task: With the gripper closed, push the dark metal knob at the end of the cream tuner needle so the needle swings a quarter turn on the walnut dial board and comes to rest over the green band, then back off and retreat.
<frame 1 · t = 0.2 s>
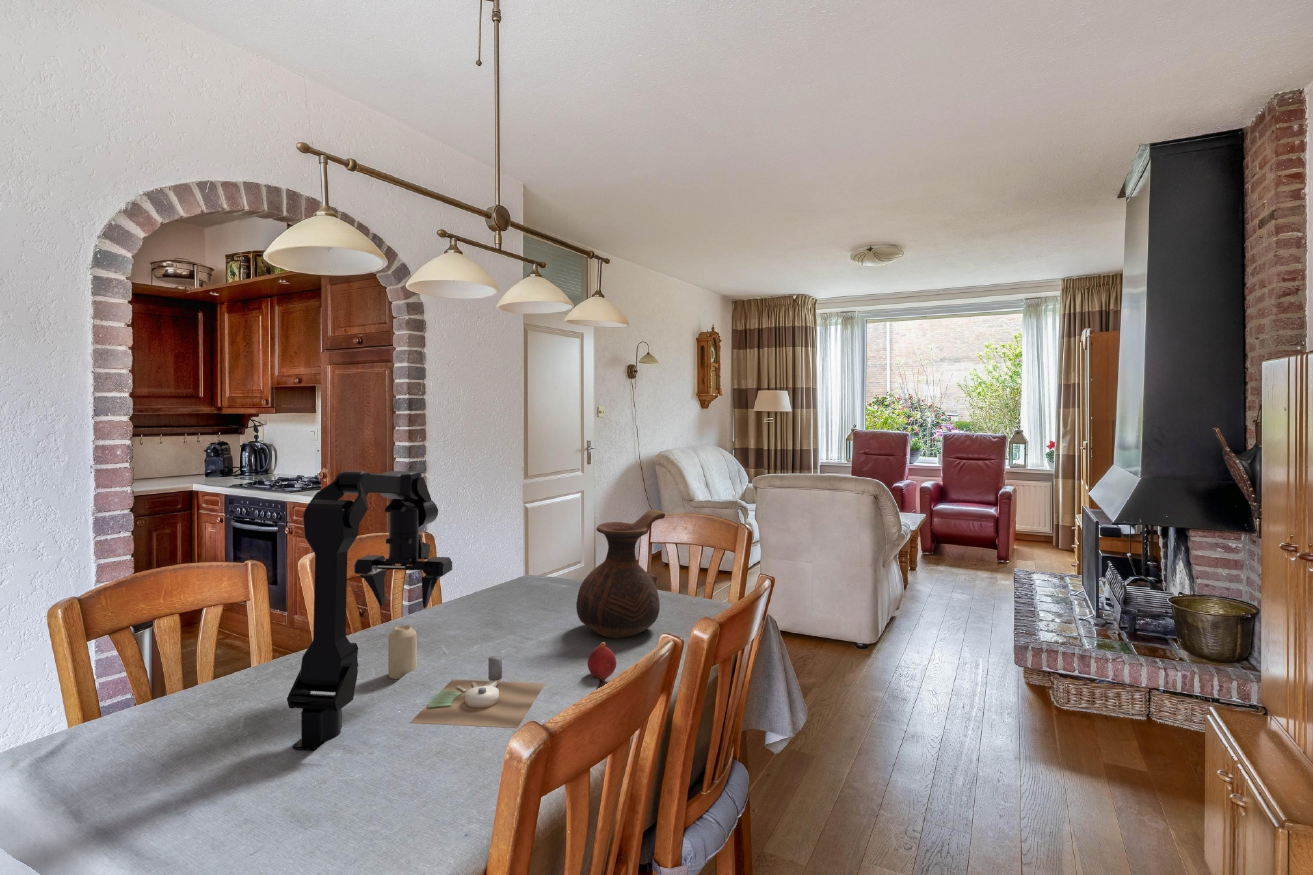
hand: (403, 606, 138), 15 cm above the table, fingers open, 9 cm apart
onion: (601, 681, 137), on the table
jug: (618, 630, 170), on the table
candle: (402, 675, 139), on the table
dial board: (482, 707, 124), on the table
needle: (487, 680, 126), point 4 cm above the table, hinge at 0.0°
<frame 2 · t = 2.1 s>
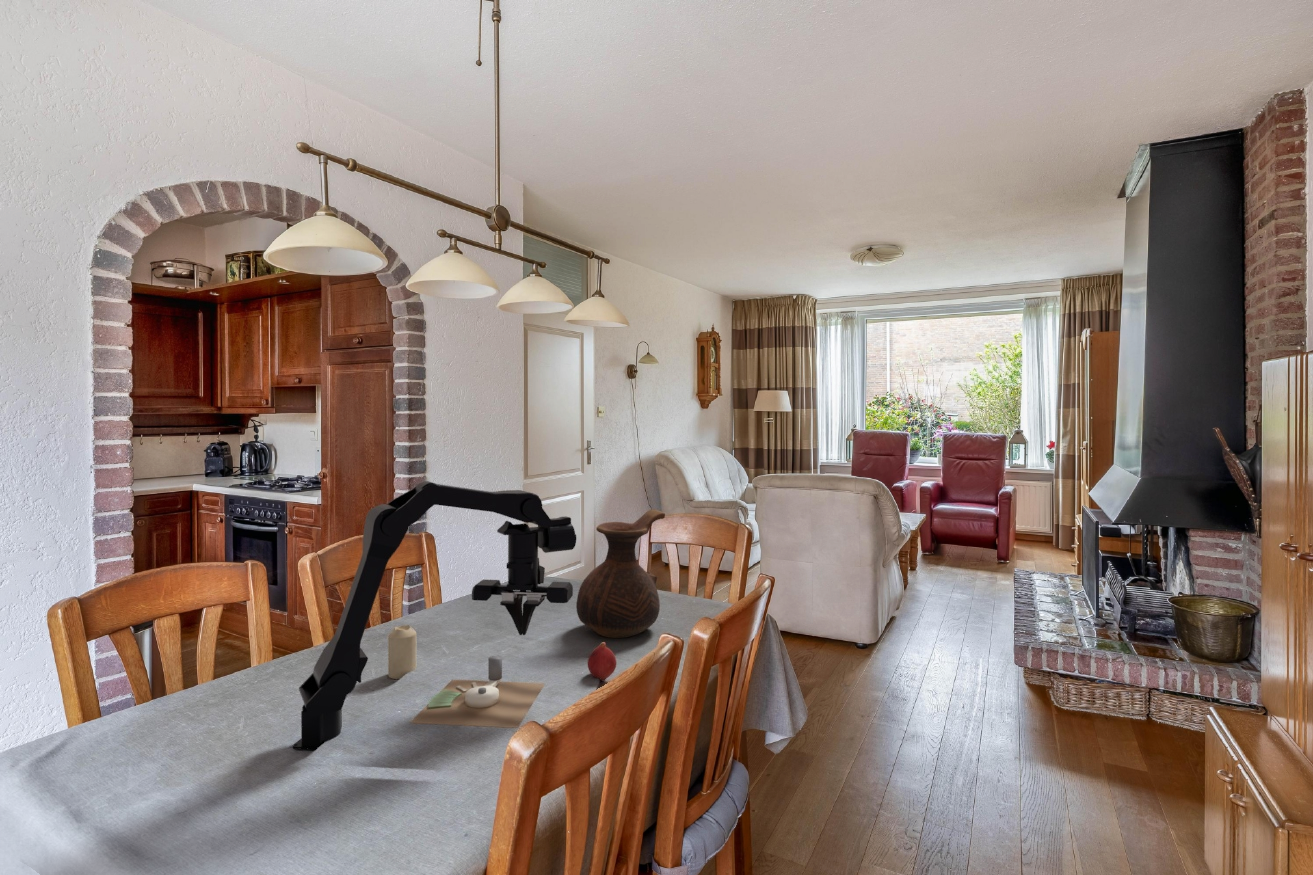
hand: (522, 634, 130), 12 cm above the table, fingers closed
nothing on the table moved.
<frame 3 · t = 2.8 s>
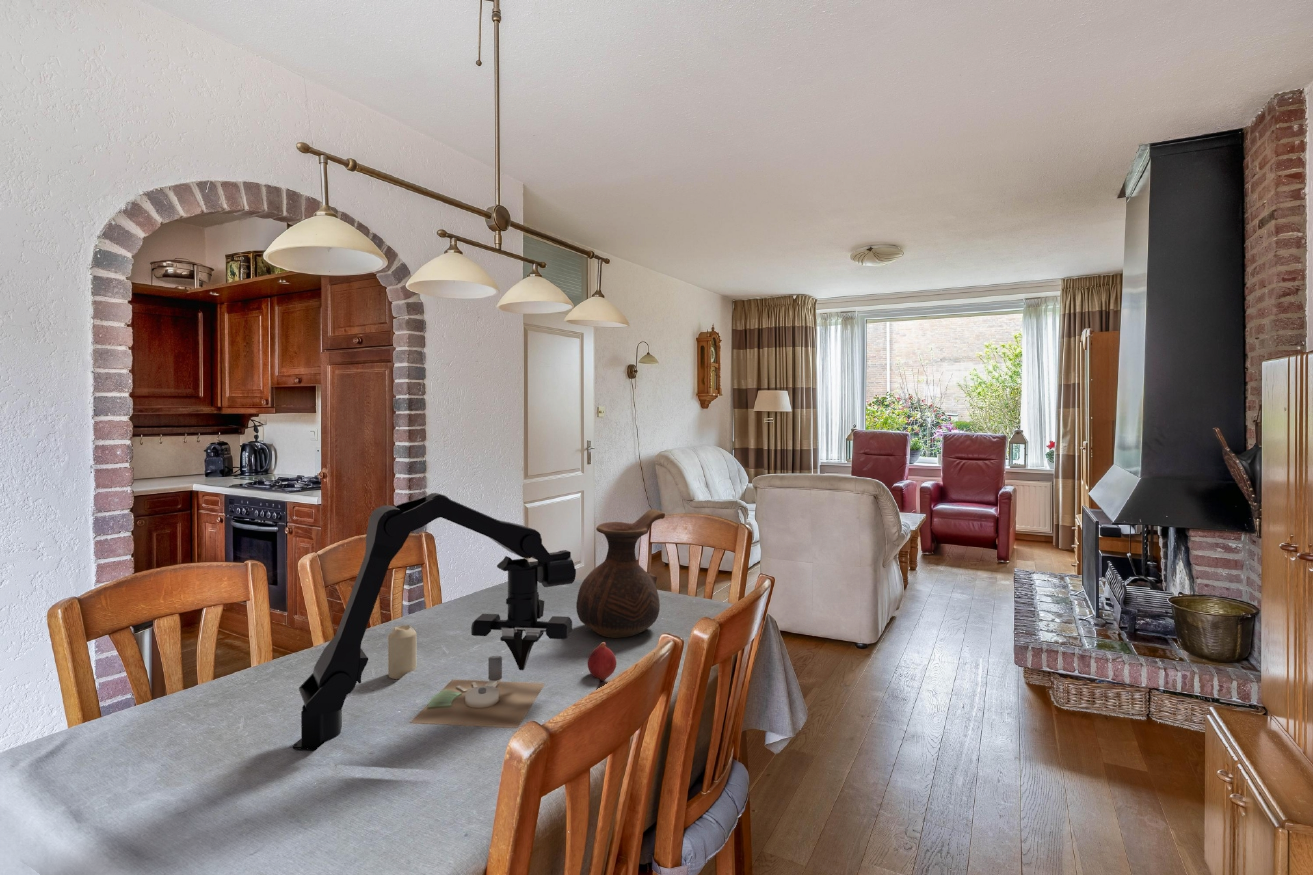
hand: (522, 669, 130), 5 cm above the table, fingers closed
nothing on the table moved.
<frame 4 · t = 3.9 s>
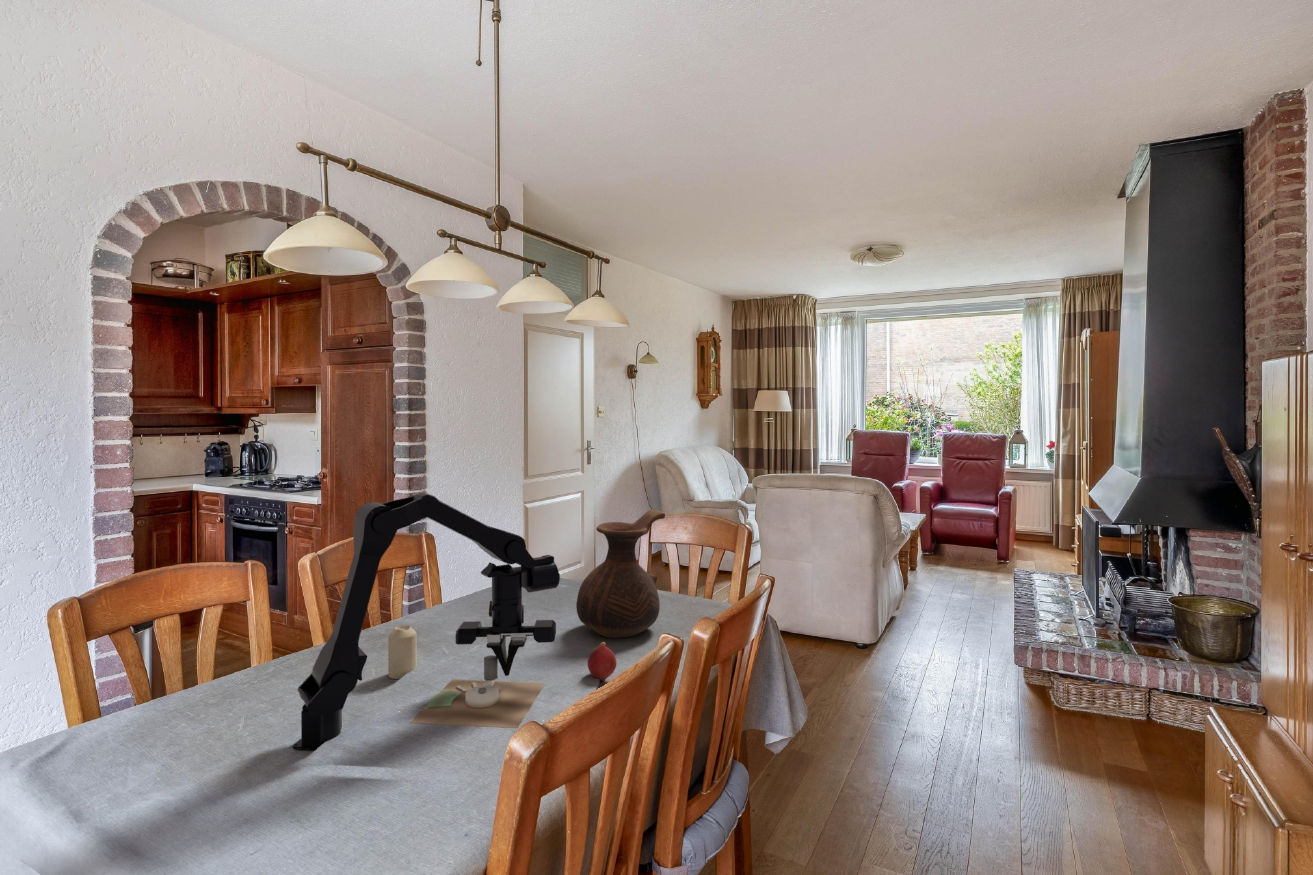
hand: (507, 674, 131), 3 cm above the table, fingers closed
needle: (485, 680, 126), point 4 cm above the table, hinge at 6.7°, touching gripper
everything else where it was.
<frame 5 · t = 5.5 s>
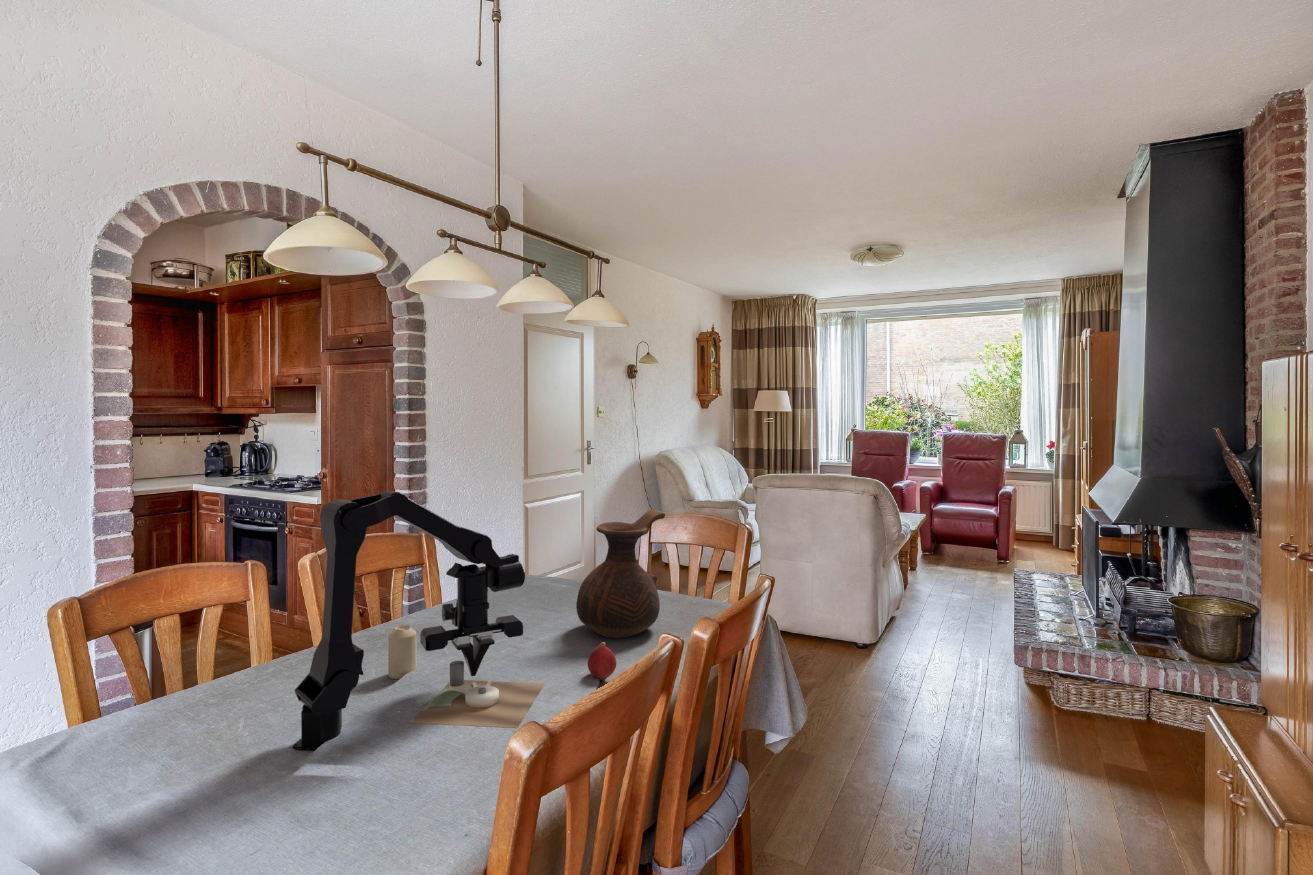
hand: (472, 675, 130), 4 cm above the table, fingers closed
needle: (472, 682, 125), point 4 cm above the table, hinge at 58.3°, touching gripper
everything else where it was.
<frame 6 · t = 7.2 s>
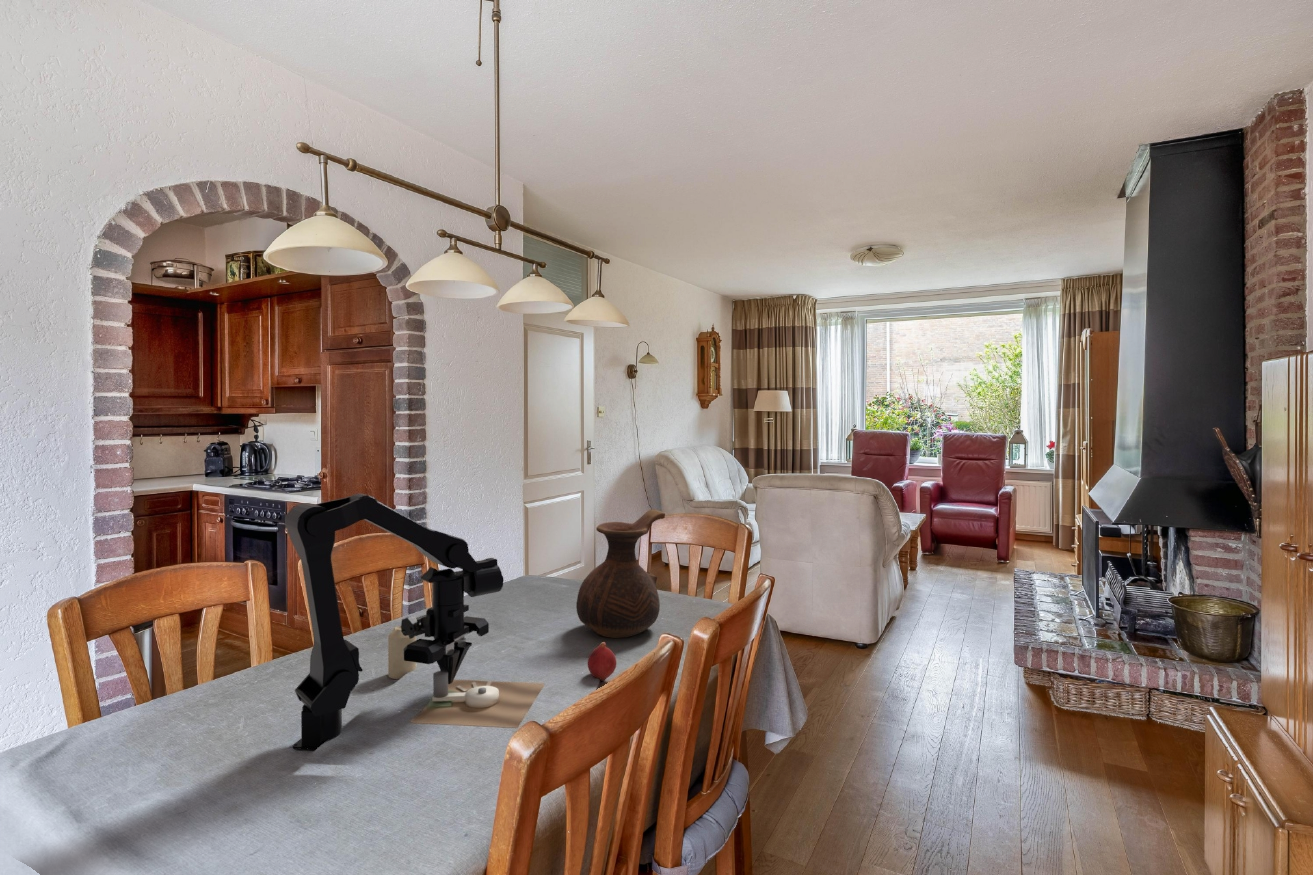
hand: (448, 683, 126), 4 cm above the table, fingers closed
needle: (466, 686, 123), point 4 cm above the table, hinge at 100.1°, touching gripper
everything else where it was.
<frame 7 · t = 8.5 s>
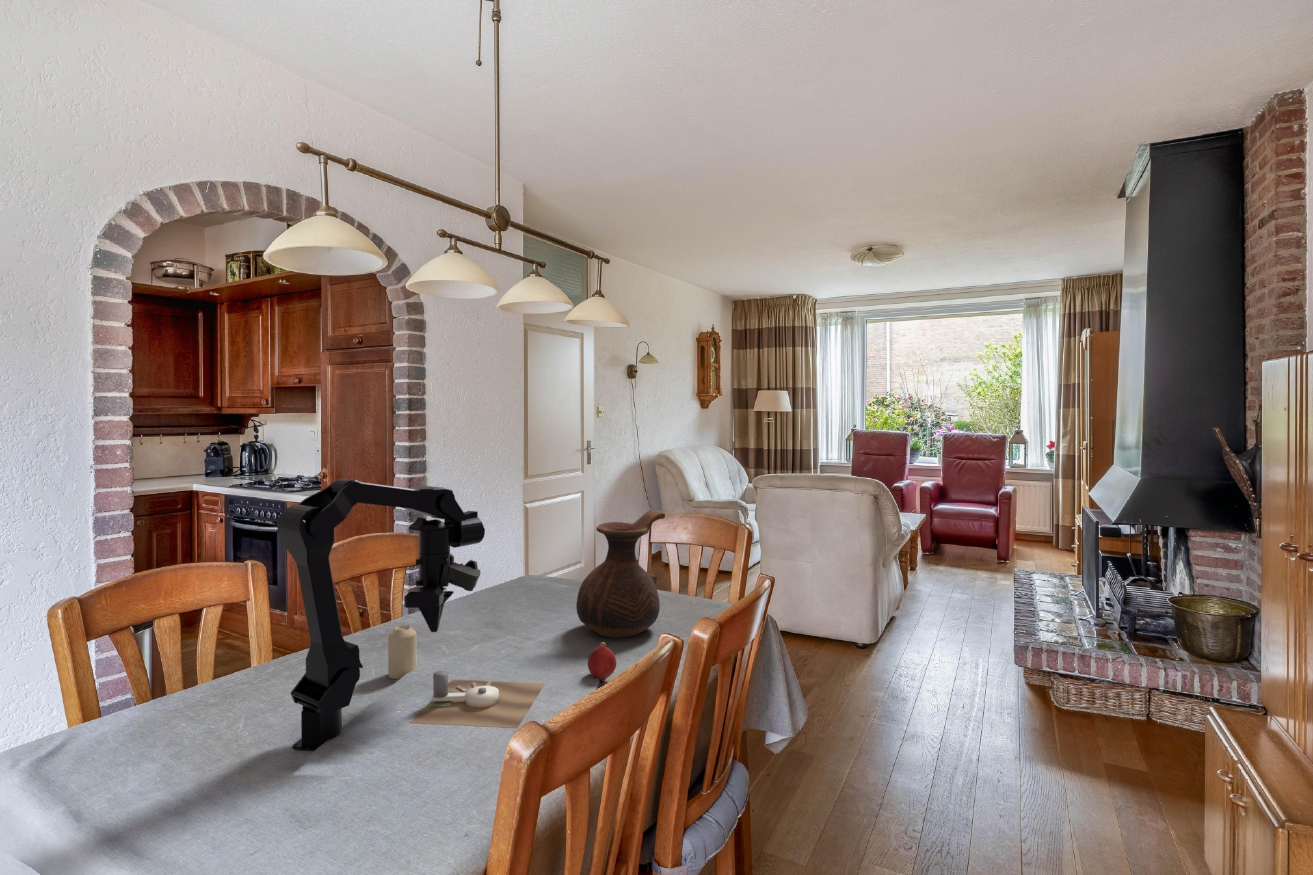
hand: (434, 631, 129), 12 cm above the table, fingers closed
needle: (466, 686, 123), point 4 cm above the table, hinge at 100.2°
everything else where it was.
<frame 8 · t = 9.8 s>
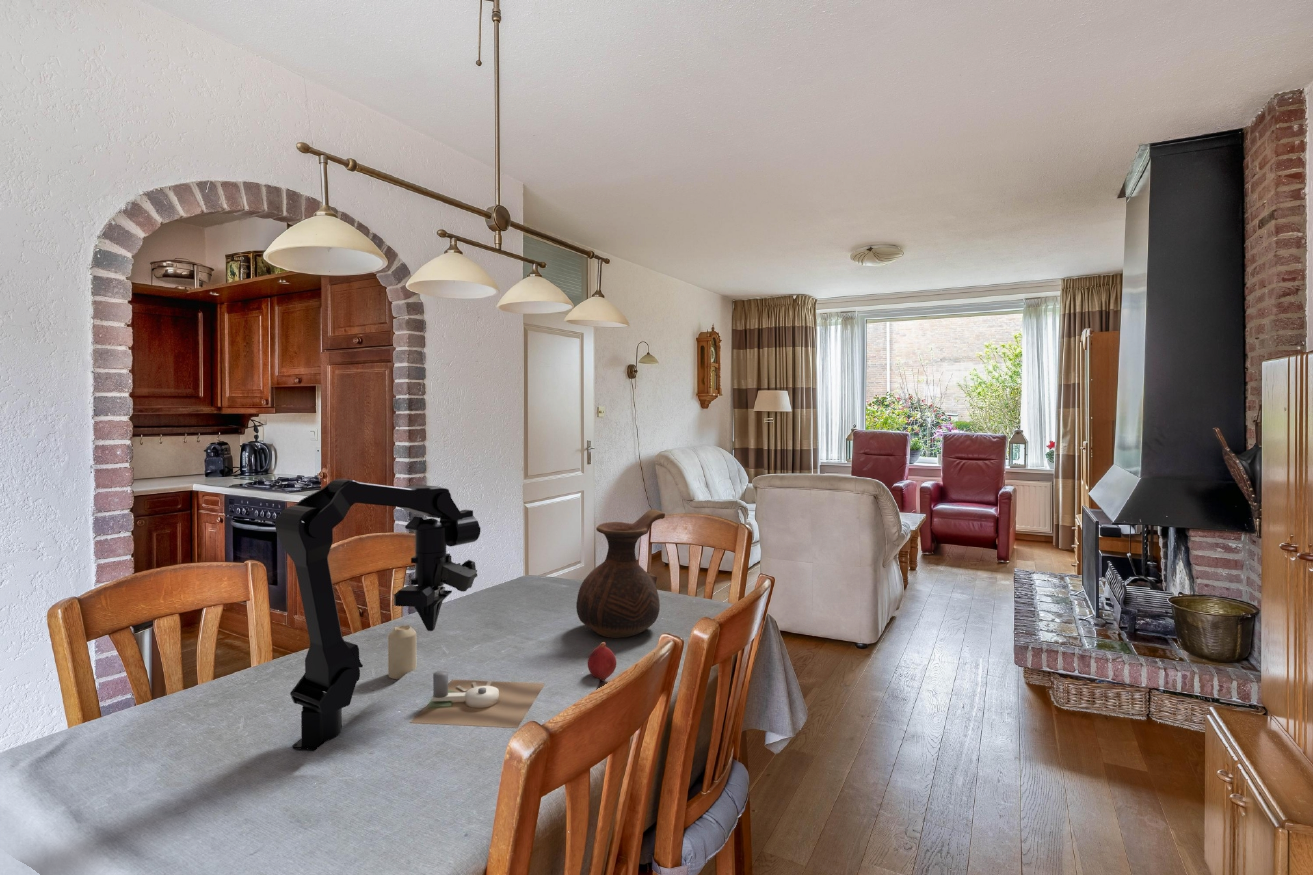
hand: (430, 630, 129), 12 cm above the table, fingers closed
nothing on the table moved.
at the end: needle at +100° (first picture: +0°); needle touching nothing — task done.
